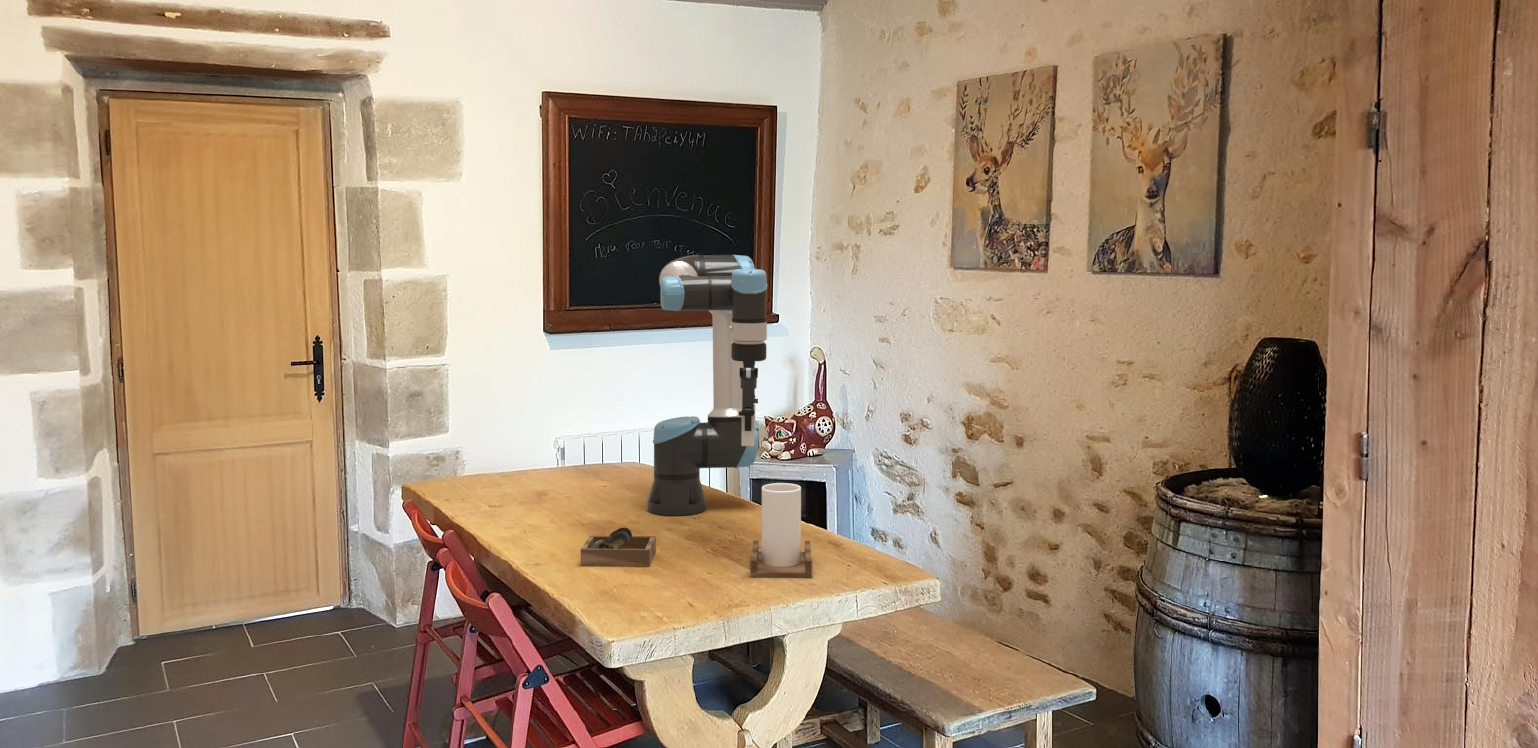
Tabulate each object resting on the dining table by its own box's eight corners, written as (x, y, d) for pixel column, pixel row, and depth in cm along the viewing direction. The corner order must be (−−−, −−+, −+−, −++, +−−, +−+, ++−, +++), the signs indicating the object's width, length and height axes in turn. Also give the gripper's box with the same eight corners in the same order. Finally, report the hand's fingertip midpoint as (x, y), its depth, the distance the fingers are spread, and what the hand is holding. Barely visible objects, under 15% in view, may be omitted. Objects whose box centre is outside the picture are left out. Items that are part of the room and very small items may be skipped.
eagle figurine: (632, 559, 241) (640, 541, 250) (613, 533, 240) (621, 515, 248) (604, 577, 243) (612, 557, 251) (584, 551, 241) (593, 532, 250)
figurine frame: (590, 551, 252) (589, 535, 251) (655, 551, 251) (655, 536, 251) (580, 566, 240) (580, 549, 240) (649, 566, 240) (649, 550, 240)
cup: (768, 568, 235) (768, 492, 233) (757, 558, 243) (757, 484, 241) (805, 565, 237) (806, 490, 236) (793, 555, 245) (794, 482, 243)
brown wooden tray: (753, 555, 248) (753, 540, 248) (810, 556, 248) (810, 540, 248) (750, 577, 232) (750, 560, 232) (811, 577, 232) (811, 561, 232)
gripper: (733, 335, 256) (732, 428, 259) (729, 348, 232) (729, 451, 235) (766, 335, 256) (766, 428, 259) (766, 348, 232) (765, 451, 235)
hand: (748, 439), depth 247 cm, fingers open, 13 cm apart
